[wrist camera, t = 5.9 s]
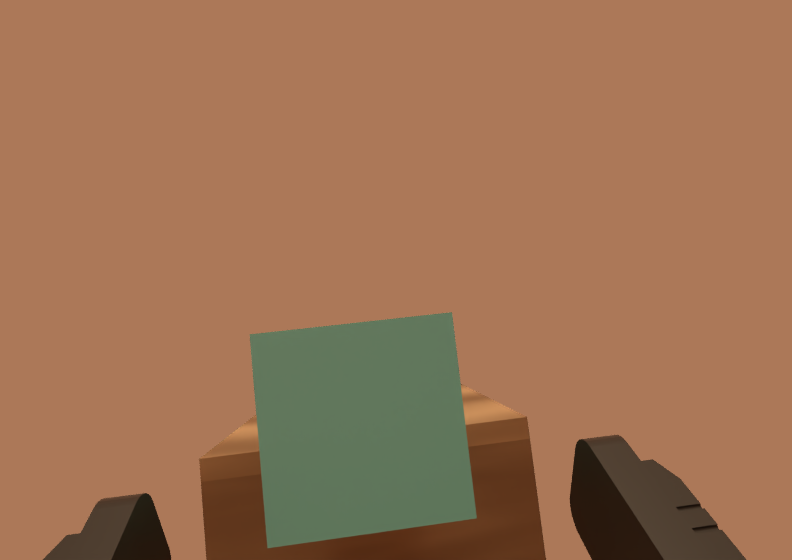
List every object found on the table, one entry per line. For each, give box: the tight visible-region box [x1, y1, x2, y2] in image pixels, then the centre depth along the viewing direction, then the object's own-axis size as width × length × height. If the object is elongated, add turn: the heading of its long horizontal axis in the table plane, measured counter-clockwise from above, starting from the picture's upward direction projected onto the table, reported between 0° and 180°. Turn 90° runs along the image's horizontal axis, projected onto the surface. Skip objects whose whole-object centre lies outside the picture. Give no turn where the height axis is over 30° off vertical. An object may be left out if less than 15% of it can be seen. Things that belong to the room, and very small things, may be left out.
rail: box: [250, 313, 477, 548], centre depth 21 cm, size 23×4×4 cm, turn 5°
